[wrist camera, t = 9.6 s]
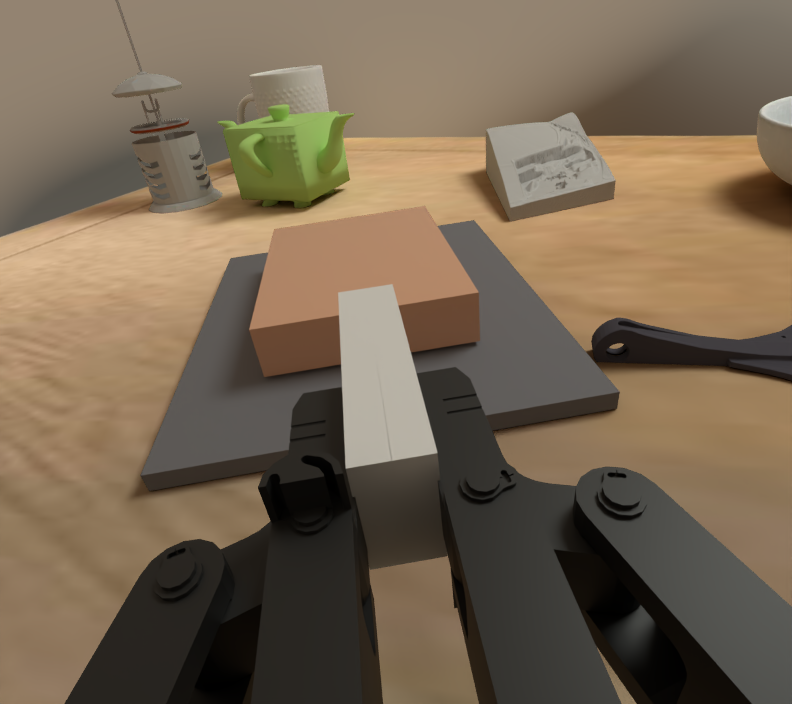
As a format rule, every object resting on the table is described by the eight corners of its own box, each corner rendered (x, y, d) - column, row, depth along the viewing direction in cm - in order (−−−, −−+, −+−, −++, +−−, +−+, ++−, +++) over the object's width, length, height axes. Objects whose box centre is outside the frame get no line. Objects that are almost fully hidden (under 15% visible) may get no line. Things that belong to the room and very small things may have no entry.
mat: (474, 230, 45) (473, 220, 45) (616, 408, 23) (619, 391, 23) (233, 268, 44) (230, 258, 44) (149, 490, 22) (140, 475, 22)
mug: (238, 174, 78) (212, 81, 71) (261, 158, 87) (239, 74, 80) (329, 165, 76) (312, 68, 69) (343, 150, 85) (328, 62, 78)
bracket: (580, 303, 33) (584, 265, 32) (842, 303, 30) (860, 260, 28) (606, 460, 22) (614, 413, 20) (1038, 492, 18) (1087, 437, 17)
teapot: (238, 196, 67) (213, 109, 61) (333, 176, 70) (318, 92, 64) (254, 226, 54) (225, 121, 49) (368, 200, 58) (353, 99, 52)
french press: (151, 218, 62) (54, -32, 48) (144, 200, 71) (60, -16, 57) (229, 199, 65) (158, -39, 52) (213, 184, 74) (149, -23, 61)
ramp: (607, 229, 43) (614, 165, 40) (436, 223, 49) (432, 167, 46) (627, 152, 64) (633, 106, 61) (505, 155, 70) (505, 114, 67)
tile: (480, 344, 28) (428, 245, 41) (478, 292, 26) (424, 206, 39) (265, 380, 27) (284, 267, 40) (249, 329, 25) (274, 229, 39)
